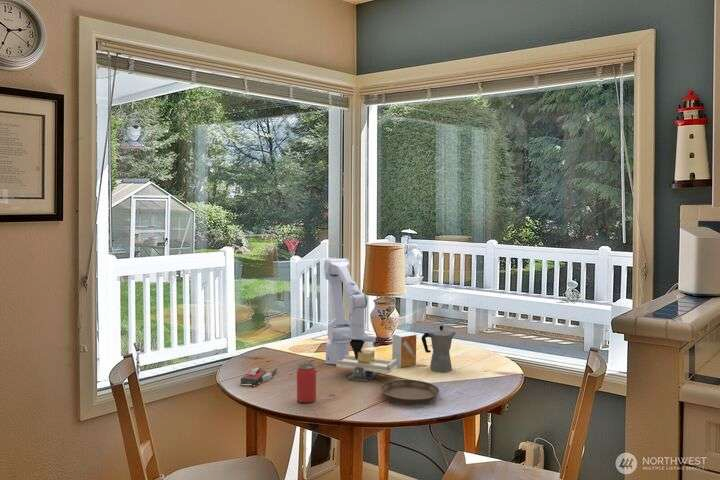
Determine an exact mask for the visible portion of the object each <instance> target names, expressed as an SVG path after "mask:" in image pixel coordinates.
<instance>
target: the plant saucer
mask: <svg viewBox="0 0 720 480" xmlns="http://www.w3.org/2000/svg"><path fill="white" fill-rule="evenodd" d="M380 391H381V393H382V394H383V396H385V398H386V399H387V400H389V401H391V402H393V403H396V404H399V405H407V406H419V405H426V404H428V403H430V402H432V401H433V400H435V398H437V396H439V393H440V389H439V387H437V385H434V384H433V383H430V382H426V381H423V380H415V379H398V380H397V379H396V380H391V381H388V382H385V383H383V384H382V385H381V386H380Z"/></svg>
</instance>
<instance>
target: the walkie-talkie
mask: <svg viewBox="0 0 720 480" xmlns="http://www.w3.org/2000/svg"><path fill="white" fill-rule="evenodd" d="M261 369H262V368H261V367H254V368H252V369H251V370H250V371H249V372H247V373H246V374H245V375H243V376H242V377H241V378H240V385H241V384H252V385H257V384H258V383H259V382H261V381H265V382H268V381H270V380H271V379H273V375H274V374H275V373H276V371H278V368H274V369H273V370H272V371H271V372H267V371H266V370H261ZM267 380H268V381H267ZM261 383H262V382H261ZM258 385H259V384H258ZM258 385H257V386H258Z"/></svg>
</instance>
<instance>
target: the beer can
mask: <svg viewBox="0 0 720 480" xmlns="http://www.w3.org/2000/svg"><path fill="white" fill-rule="evenodd" d="M296 399H297V401H298V402H299V401H301V402H311V403H313V402H315V401H316V399H317V371H316V367H315V365H314V364H309V363H305V364H300V365H298V367H297V371H296ZM301 402H300V403H301Z"/></svg>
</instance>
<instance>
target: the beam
mask: <svg viewBox="0 0 720 480" xmlns="http://www.w3.org/2000/svg"><path fill="white" fill-rule="evenodd" d="M335 365H336V368H343V369H349V370H350V369H351V370H355V367H359V368H363V370H365V371H373V372H379V373H380V374H381V373H383V374H391V373H392V372H393V371H394V370H396V369H397V368H398V366H397V359H394V360H393V361H392V359H391V360H390V359H382V358H374V364H365V363H358V359H355V355H350V354H349V355H345V359H343V360H342V361H341V360H337V361H336V364H335Z"/></svg>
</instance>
